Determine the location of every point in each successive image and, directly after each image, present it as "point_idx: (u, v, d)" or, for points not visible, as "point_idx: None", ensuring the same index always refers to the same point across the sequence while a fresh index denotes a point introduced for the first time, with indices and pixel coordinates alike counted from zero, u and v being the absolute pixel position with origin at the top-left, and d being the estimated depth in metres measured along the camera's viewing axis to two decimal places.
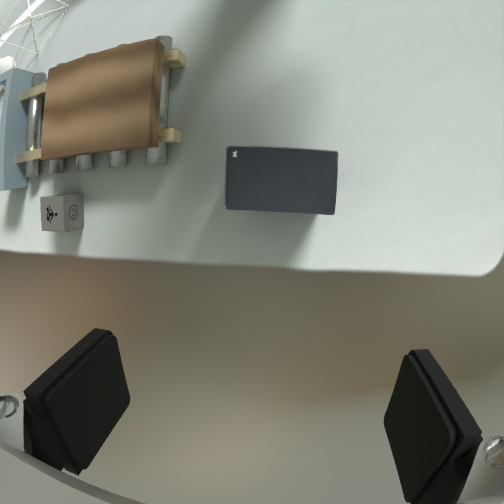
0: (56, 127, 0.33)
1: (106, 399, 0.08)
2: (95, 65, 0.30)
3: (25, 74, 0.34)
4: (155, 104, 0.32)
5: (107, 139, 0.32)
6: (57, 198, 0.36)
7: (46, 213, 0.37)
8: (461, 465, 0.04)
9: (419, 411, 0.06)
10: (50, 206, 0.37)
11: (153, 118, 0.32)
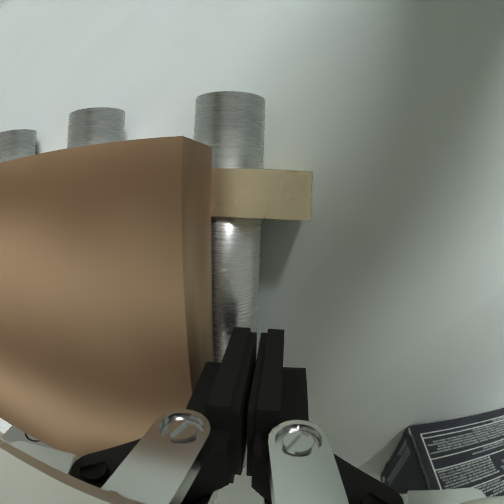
0: None
1: None
2: None
3: None
4: None
5: (86, 451, 0.10)
6: None
7: None
8: (264, 441, 0.06)
9: None
10: None
11: None
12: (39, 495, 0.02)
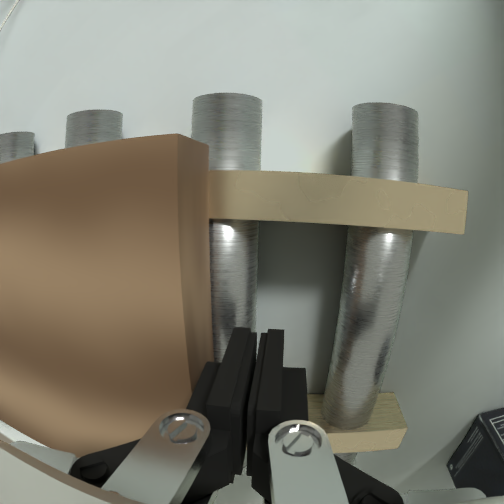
0: None
1: None
2: None
3: None
4: None
5: (87, 453, 0.10)
6: None
7: None
8: (264, 441, 0.06)
9: None
10: None
11: None
12: (39, 495, 0.02)
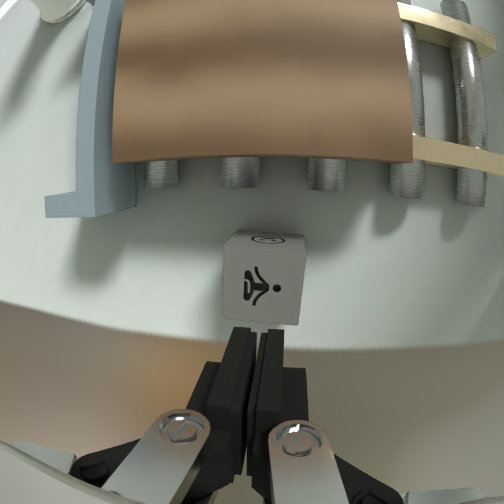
0: (156, 90, 0.16)
1: None
2: None
3: None
4: None
5: (313, 132, 0.16)
6: (286, 253, 0.19)
7: (242, 283, 0.19)
8: (264, 441, 0.06)
9: None
10: (258, 268, 0.19)
11: None
12: (39, 495, 0.02)
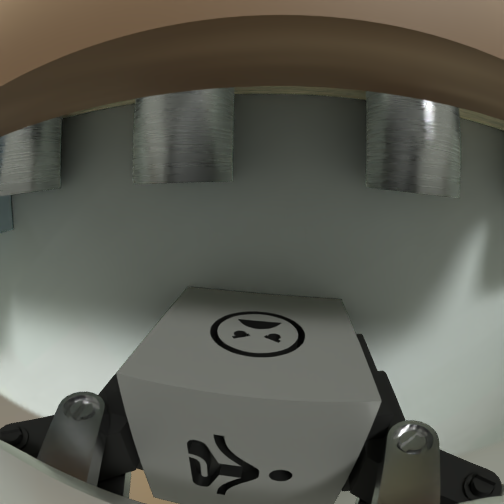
0: None
1: None
2: None
3: None
4: None
5: None
6: (316, 410, 0.05)
7: (186, 460, 0.06)
8: (374, 445, 0.05)
9: None
10: (225, 438, 0.05)
11: None
12: (39, 495, 0.02)
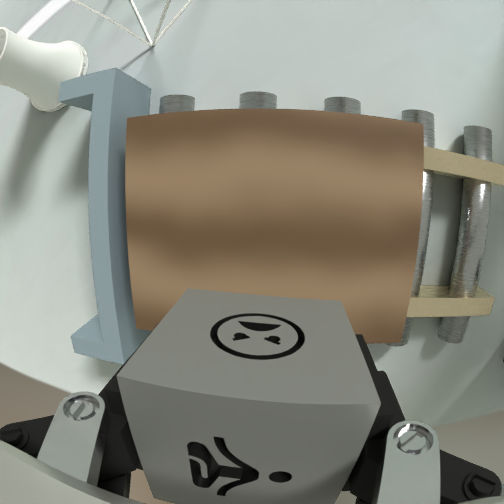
0: (172, 272, 0.19)
1: None
2: (278, 144, 0.16)
3: (136, 88, 0.19)
4: None
5: None
6: (316, 412, 0.05)
7: (186, 461, 0.06)
8: (374, 445, 0.05)
9: None
10: (225, 440, 0.05)
11: None
12: (39, 495, 0.02)
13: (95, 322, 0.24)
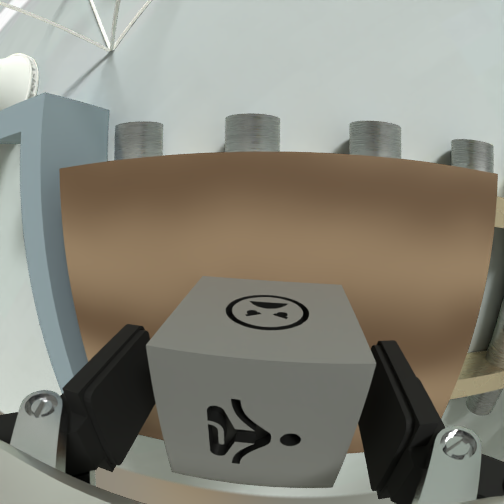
0: None
1: (139, 394, 0.08)
2: (283, 213, 0.10)
3: (84, 115, 0.13)
4: None
5: None
6: (320, 371, 0.06)
7: (205, 427, 0.07)
8: (419, 453, 0.05)
9: (382, 399, 0.07)
10: (241, 402, 0.06)
11: None
12: (39, 495, 0.02)
13: None
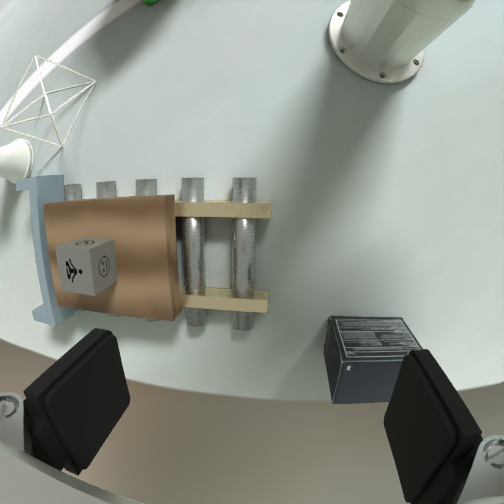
0: None
1: (106, 399, 0.08)
2: (97, 217, 0.32)
3: (52, 180, 0.35)
4: (173, 273, 0.34)
5: (127, 306, 0.34)
6: (81, 250, 0.28)
7: (66, 268, 0.28)
8: (460, 464, 0.04)
9: (419, 411, 0.06)
10: (70, 259, 0.28)
11: (173, 289, 0.34)
12: (39, 495, 0.02)
13: None
